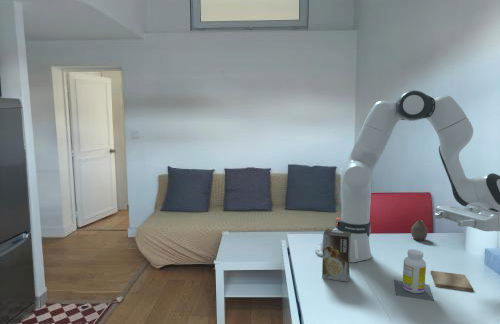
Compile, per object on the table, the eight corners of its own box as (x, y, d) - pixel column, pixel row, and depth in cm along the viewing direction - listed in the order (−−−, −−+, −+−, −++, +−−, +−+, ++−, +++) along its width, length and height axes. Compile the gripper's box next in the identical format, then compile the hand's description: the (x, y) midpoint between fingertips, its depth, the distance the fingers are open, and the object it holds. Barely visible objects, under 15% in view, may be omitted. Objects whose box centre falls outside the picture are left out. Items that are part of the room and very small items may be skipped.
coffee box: (350, 275, 131) (352, 231, 129) (348, 282, 125) (350, 237, 123) (324, 270, 135) (326, 228, 133) (321, 278, 129) (322, 233, 127)
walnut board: (435, 286, 123) (435, 283, 123) (430, 273, 134) (430, 270, 133) (472, 291, 120) (472, 288, 120) (464, 277, 130) (464, 274, 130)
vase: (428, 242, 167) (430, 223, 166) (412, 241, 168) (413, 222, 167) (424, 237, 173) (426, 219, 172) (409, 236, 175) (410, 218, 174)
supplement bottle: (423, 286, 122) (425, 249, 121) (425, 295, 116) (428, 256, 114) (401, 283, 124) (403, 247, 123) (402, 292, 118) (405, 254, 117)
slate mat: (396, 295, 117) (396, 294, 117) (394, 280, 127) (394, 279, 127) (434, 300, 113) (434, 300, 113) (428, 285, 124) (429, 284, 124)
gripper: (452, 200, 135) (423, 203, 131) (507, 213, 116) (475, 218, 112) (452, 216, 136) (422, 220, 132) (506, 232, 117) (474, 238, 112)
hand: (447, 219), depth 122 cm, fingers open, 8 cm apart
